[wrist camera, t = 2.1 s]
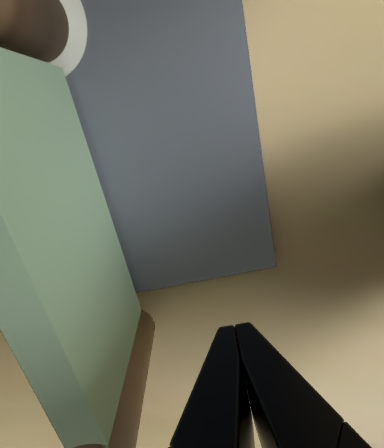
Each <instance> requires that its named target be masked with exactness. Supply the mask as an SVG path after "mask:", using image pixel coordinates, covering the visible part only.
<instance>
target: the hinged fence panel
mask: <svg viewBox="0 0 384 448" xmlns="http://www.w3.org/2000/svg"><path fill="white" fill-rule="evenodd" d="M0 330H1V332H2V334H3V335H4V337H5V339H6V341H7V343H8V345H9V346H10V348H11V350H12V352H13V354H14V356H15V358H16V359H17V361H18V363H19V365H20V367H21V369H22V370H23V372H24V374H25V376H26V378H27V380H28V382H29V383H30V385H31V387H32V389H33V391H34V393H35V394H36V396H37V398H38V400H39V402H40V404H41V406H42V407H43V409H44V411H45V413H46V415H47V417H48V418H49V420H50V422H51V424H52V426H53V428H54V430H55V431H56V433H57V435H58V437H59V439H60V441H61V442H62V444H63V446H64V448H135V447H136V441H137V435H138V429H139V423H140V416H141V410H142V404H143V398H144V392H145V386H146V380H147V374H148V367H149V361H150V355H151V349H152V343H153V337H154V331H155V323H154V321H153V319H152V317H151V316H150V315H149V314H148V313H146V312H145V311H143V310H141V307H140V304H139V301H138V298H137V295H136V292H135V289H134V286H133V283H132V280H131V276H130V273H129V270H128V267H127V264H126V261H125V258H124V255H123V252H122V249H121V246H120V243H119V240H118V237H117V234H116V231H115V228H114V224H113V221H112V218H111V215H110V212H109V209H108V206H107V203H106V200H105V197H104V194H103V191H102V188H101V185H100V182H99V179H98V175H97V172H96V169H95V166H94V163H93V160H92V157H91V154H90V151H89V148H88V145H87V142H86V139H85V136H84V133H83V130H82V127H81V123H80V120H79V117H78V114H77V111H76V108H75V105H74V102H73V99H72V96H71V93H70V90H69V87H68V84H67V81H66V78H65V75H64V71H63V68H62V67H59V66H56V65H53V64H50V63H47V62H44V61H41V60H38V59H35V58H32V57H29V56H26V55H23V54H19V53H16V52H13V51H10V50H7V49H4V48H1V47H0Z"/></svg>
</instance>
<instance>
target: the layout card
mask: <svg viewBox="0 0 384 448" xmlns="http://www.w3.org/2000/svg"><path fill="white" fill-rule="evenodd" d="M60 2H61V3H62V5H63V7H64V9H65V12H66V15H67V18H68V24H69V36H68V41H67V44H66V47H65V49H64V50H63V52H62V53H61V54H60V55H59V57H57V58H56V59H55V60H53V61H51V62H48V63H50V64H53V65H56V66H59V67H62V68H63V71H64V75H65V78H66V81H67V84H68V87H69V90H70V93H71V96H72V99H73V102H74V105H75V108H76V111H77V114H78V117H79V120H80V123H81V127H82V130H83V133H84V136H85V139H86V142H87V145H88V148H89V151H90V154H91V157H92V160H93V163H94V166H95V169H96V172H97V175H98V179H99V182H100V185H101V188H102V191H103V194H104V197H105V200H106V203H107V206H108V209H109V212H110V215H111V218H112V221H113V224H114V228H115V231H116V234H117V237H118V240H119V243H120V246H121V249H122V252H123V255H124V258H125V261H126V264H127V267H128V270H129V273H130V276H131V280H132V283H133V286H134V289H135V292H136V293H138V292H144V291H149V290H154V289H160V288H165V287H170V286H176V285H181V284H186V283H192V282H197V281H202V280H208V279H213V278H218V277H224V276H229V275H235V274H240V273H245V272H251V271H256V270H261V269H267V268H272V267H276V262H275V254H274V246H273V238H272V231H271V223H270V215H269V207H268V199H267V192H266V184H265V176H264V168H263V161H262V153H261V145H260V137H259V129H258V122H257V114H256V106H255V98H254V91H253V83H252V75H251V67H250V59H249V52H248V44H247V36H246V28H245V20H244V13H243V5H242V0H60Z"/></svg>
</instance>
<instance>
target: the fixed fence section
mask: <svg viewBox="0 0 384 448" xmlns="http://www.w3.org/2000/svg"><path fill="white" fill-rule="evenodd" d="M68 36H69V24H68V18H67V15H66V12H65V9H64V7H63V5H62V3H61V2H60V0H0V47H1V48H4V49H7V50H10V51H13V52H16V53H19V54H23V55H26V56H29V57H32V58H35V59H38V60H41V61H44V62H47V63H48V62H51V61H53V60H55V59H56V58H57V57H59V55H60V54H61V53H62V52H63V50H64V49H65V47H66V44H67V41H68Z"/></svg>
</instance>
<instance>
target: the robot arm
mask: <svg viewBox="0 0 384 448" xmlns="http://www.w3.org/2000/svg"><path fill="white" fill-rule="evenodd" d="M235 331H236V332H235ZM236 336H237V337H236ZM246 387H247V388H246ZM247 392H248V393H247ZM248 397H249V398H248ZM249 402H250V403H249ZM250 407H251V408H250ZM251 411H252V414H251ZM252 416H253V419H254V423H255V427H256V430H257V433H258V436H259V439H260V443H261V446H262V448H372V447H371V446H370V445H369V444H368V443H367V442H366V441H364V440H363V439H362V438H361V436H360V435H359V434H358V433H357V432H356V431H355V430H354V429H353V428H352V427H351V426H350V425H349V424H348V423H347V422H344V420H343V418H342V417H341V416H340V415H339V414H338V413H337V412H336V411H335V410H334V409H333V408H332V407H331V406H330V405H329V404H328V403H327V401H326V400H325V399H324V398H323V397H322V396H321V395H320V394H319V393H318V392H317V391H316V390H315V389H314V388H313V387H312V386H311V385H310V384H309V383H308V382H307V381H306V380H305V379H304V378H303V377H302V376H301V375H300V374H299V373H298V371H297V370H296V369H295V368H294V367H293V366H292V365H291V364H290V363H289V362H288V361H287V360H286V359H285V358H284V357H283V356H282V355H281V354H280V353H279V352H278V351H277V350H276V349H275V348H274V347H273V346H272V345H271V344H270V343H269V341H268V340H267V339H266V338H265V337H264V336H263V335H262V334H261V333H260V332H259V331H258V330H257V329H256V328H255V327H254V326H253V325H252V324H251V323H249V322H247V323H241V324H236V325H235V327H234V326H233V325H230V326H224V327H220V328H218V330H217V333H216V335H215V337H214V340H213V342H212V344H211V347H210V349H209V352H208V354H207V356H206V359H205V361H204V363H203V366H202V368H201V371H200V373H199V375H198V378H197V380H196V382H195V385H194V387H193V390H192V392H191V394H190V397H189V399H188V402H187V404H186V406H185V409H184V411H183V413H182V416H181V418H180V421H179V423H178V425H177V428H176V430H175V432H174V435H173V437H172V440H171V442H170V447H168V448H255V444H254V432H253V422H252Z"/></svg>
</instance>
